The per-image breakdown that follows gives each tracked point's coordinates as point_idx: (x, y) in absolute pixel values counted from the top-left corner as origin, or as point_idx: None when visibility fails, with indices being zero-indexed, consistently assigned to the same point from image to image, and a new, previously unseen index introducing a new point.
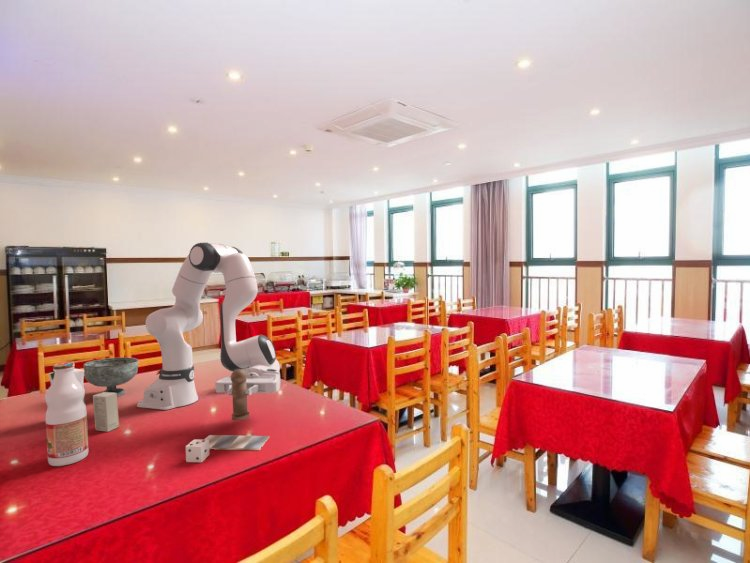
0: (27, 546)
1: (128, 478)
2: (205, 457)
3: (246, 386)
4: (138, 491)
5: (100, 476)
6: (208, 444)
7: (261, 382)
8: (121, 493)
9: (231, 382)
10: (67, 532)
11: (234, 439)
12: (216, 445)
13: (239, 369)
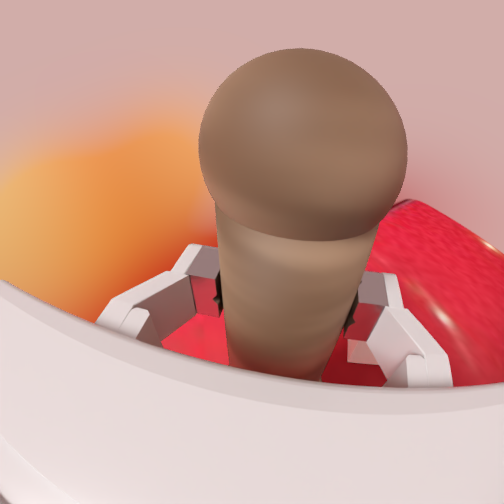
0: (417, 204)
1: (443, 284)
2: (348, 341)
3: (219, 258)
4: (397, 253)
5: (484, 293)
6: (357, 340)
7: (54, 306)
8: (416, 253)
9: (461, 386)
10: (403, 210)
11: None
12: None
13: (297, 49)
